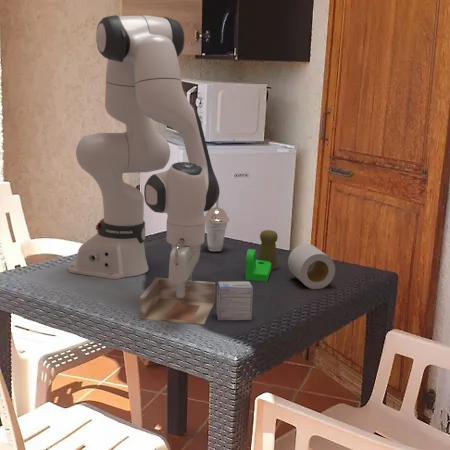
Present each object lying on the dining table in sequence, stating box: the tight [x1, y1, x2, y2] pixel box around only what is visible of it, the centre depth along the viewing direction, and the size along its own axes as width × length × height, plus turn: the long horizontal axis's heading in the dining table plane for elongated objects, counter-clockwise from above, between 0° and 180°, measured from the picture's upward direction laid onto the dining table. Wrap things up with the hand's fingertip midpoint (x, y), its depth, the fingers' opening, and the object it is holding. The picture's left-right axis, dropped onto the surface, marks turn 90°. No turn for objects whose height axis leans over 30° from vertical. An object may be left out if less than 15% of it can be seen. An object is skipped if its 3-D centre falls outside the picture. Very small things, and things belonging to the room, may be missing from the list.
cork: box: [257, 229, 279, 271], centre depth 197 cm, size 6×6×11 cm
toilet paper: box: [287, 243, 336, 290], centre depth 184 cm, size 10×10×10 cm
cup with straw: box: [204, 197, 230, 252], centre depth 213 cm, size 8×9×20 cm
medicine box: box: [215, 280, 254, 321], centre depth 156 cm, size 8×4×9 cm, turn 98°
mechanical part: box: [244, 248, 272, 283], centre depth 190 cm, size 12×6×8 cm, turn 169°
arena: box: [139, 276, 216, 326], centre depth 159 cm, size 15×15×6 cm
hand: (184, 290), depth 157 cm, fingers open, 7 cm apart
